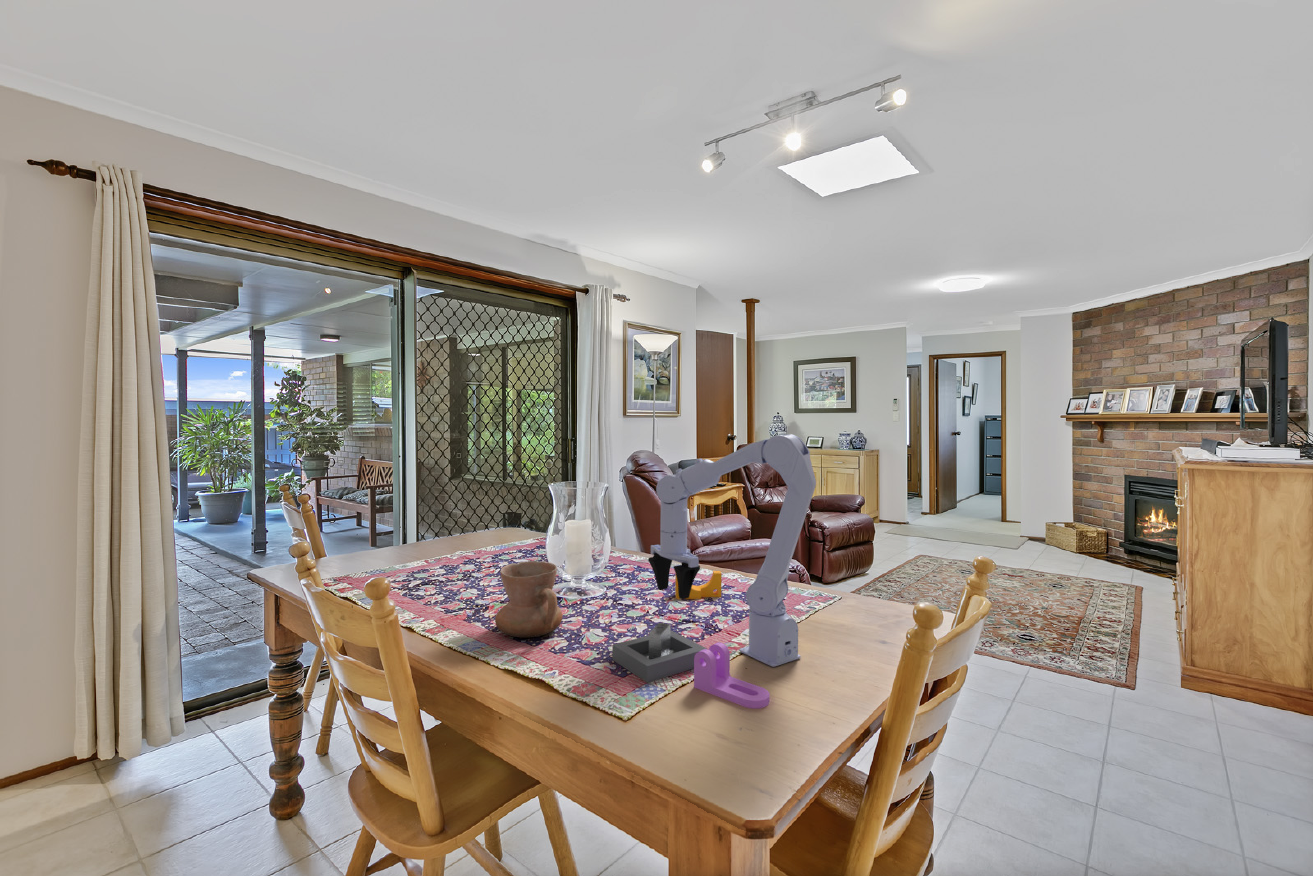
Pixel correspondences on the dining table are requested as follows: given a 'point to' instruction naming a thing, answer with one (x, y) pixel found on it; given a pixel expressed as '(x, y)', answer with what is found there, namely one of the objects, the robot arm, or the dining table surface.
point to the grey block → (659, 641)
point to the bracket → (725, 679)
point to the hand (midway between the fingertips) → (673, 593)
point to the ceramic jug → (529, 600)
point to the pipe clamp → (704, 587)
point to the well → (648, 670)
